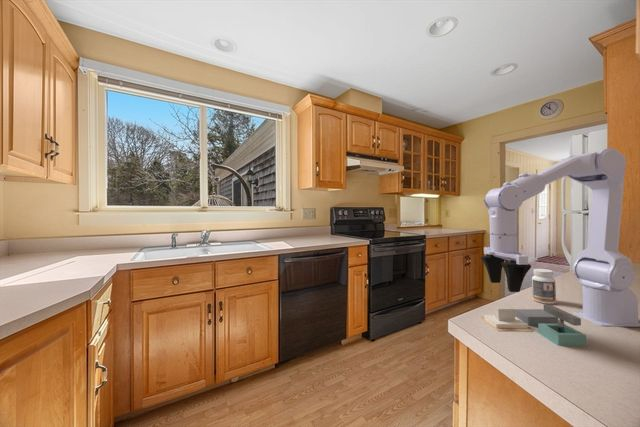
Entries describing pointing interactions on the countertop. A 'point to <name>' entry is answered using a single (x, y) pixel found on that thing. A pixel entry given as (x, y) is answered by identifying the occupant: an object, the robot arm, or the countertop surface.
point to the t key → (562, 317)
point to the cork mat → (508, 328)
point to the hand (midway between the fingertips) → (504, 286)
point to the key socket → (562, 335)
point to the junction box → (535, 316)
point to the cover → (505, 318)
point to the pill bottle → (543, 286)
